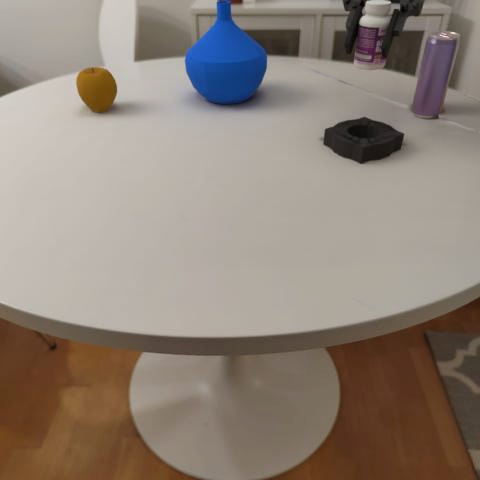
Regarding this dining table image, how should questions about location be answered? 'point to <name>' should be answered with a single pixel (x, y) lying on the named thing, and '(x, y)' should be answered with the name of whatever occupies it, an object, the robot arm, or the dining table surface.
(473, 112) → the dining table surface
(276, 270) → the dining table surface
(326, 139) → the dock pad
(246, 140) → the dining table surface
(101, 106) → the apple
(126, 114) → the dining table surface
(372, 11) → the pill bottle
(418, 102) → the beverage can
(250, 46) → the vase
